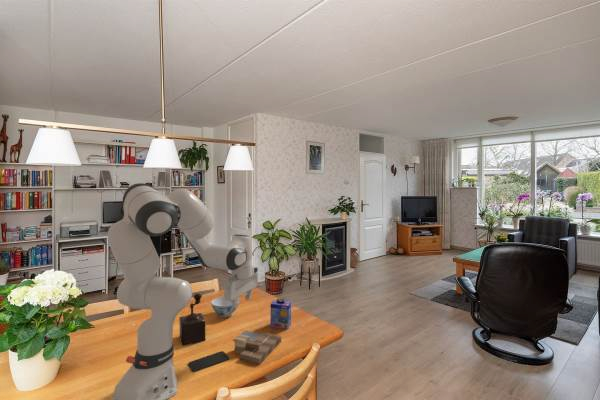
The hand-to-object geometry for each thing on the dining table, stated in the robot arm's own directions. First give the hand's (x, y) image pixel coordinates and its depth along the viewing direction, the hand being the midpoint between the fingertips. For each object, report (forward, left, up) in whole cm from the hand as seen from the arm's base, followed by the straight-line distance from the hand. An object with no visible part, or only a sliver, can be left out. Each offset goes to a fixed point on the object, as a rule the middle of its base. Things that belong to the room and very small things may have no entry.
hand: (241, 303), depth 129 cm
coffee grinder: (+2, +28, -21) cm, 35 cm away
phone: (-12, +7, -21) cm, 26 cm away
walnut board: (+4, -8, -21) cm, 22 cm away
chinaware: (+28, +28, -21) cm, 45 cm away
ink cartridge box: (+28, -6, -21) cm, 35 cm away
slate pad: (+11, +2, -21) cm, 23 cm away
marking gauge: (0, -4, -21) cm, 21 cm away
